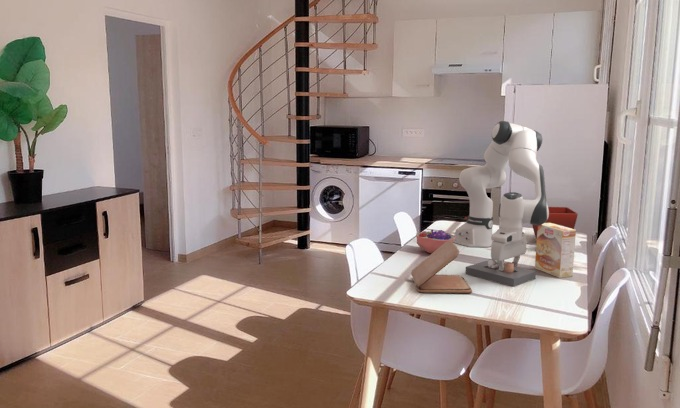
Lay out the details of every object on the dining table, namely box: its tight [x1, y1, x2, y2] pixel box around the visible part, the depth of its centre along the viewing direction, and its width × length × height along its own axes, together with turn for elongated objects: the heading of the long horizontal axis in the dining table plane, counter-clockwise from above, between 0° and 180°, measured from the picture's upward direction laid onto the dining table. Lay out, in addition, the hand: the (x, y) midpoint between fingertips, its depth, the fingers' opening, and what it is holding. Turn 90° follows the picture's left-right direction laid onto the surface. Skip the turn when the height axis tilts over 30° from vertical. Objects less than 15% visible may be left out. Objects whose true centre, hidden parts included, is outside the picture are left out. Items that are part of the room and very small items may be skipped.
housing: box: [465, 259, 537, 287], centre depth 223 cm, size 22×16×3 cm
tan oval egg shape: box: [503, 261, 514, 274], centre depth 220 cm, size 4×4×6 cm
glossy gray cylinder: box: [487, 258, 498, 270], centre depth 225 cm, size 4×4×6 cm
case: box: [410, 241, 473, 294], centre depth 209 cm, size 20×21×16 cm
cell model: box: [415, 229, 456, 254], centre depth 260 cm, size 17×20×11 cm
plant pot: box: [531, 206, 578, 240], centre depth 282 cm, size 19×19×17 cm
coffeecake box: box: [534, 223, 577, 279], centre depth 228 cm, size 15×7×20 cm, turn 20°
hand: (508, 268), depth 220 cm, fingers open, 8 cm apart
